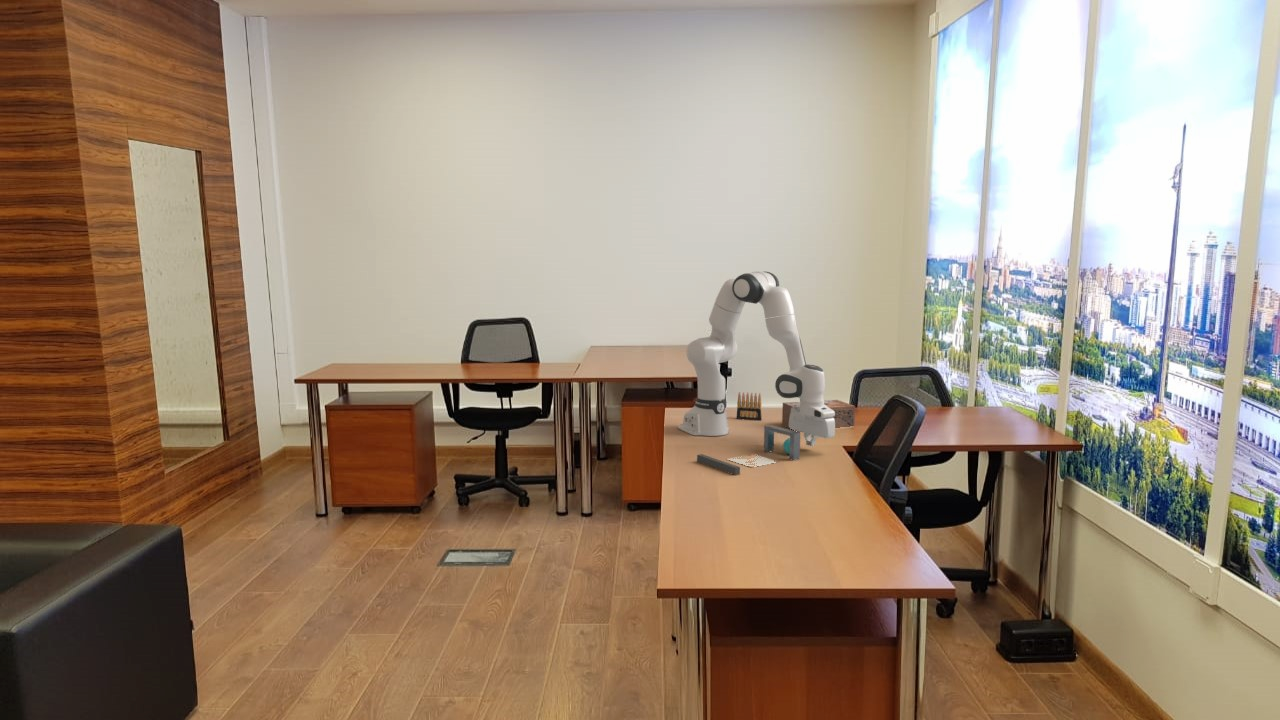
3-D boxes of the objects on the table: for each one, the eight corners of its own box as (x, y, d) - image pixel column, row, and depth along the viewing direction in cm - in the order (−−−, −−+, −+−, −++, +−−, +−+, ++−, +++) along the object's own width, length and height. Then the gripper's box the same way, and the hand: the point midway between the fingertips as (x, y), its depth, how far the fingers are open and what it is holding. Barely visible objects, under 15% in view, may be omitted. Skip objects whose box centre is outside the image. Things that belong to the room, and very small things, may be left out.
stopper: (697, 461, 286) (697, 454, 285) (701, 461, 287) (701, 454, 286) (735, 475, 269) (735, 467, 269) (739, 474, 271) (739, 466, 270)
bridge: (793, 460, 288) (794, 433, 287) (763, 451, 300) (764, 425, 299) (799, 459, 290) (800, 432, 289) (769, 450, 302) (770, 424, 301)
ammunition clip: (761, 419, 355) (762, 392, 353) (761, 420, 353) (761, 393, 352) (737, 418, 358) (737, 391, 356) (736, 419, 356) (737, 392, 354)
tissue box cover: (836, 422, 352) (837, 399, 351) (854, 429, 339) (855, 406, 337) (782, 425, 345) (782, 402, 343) (798, 433, 331) (798, 409, 330)
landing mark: (726, 459, 289) (726, 459, 289) (753, 454, 296) (753, 453, 296) (751, 468, 278) (751, 467, 278) (779, 462, 286) (779, 461, 286)
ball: (782, 434, 298) (792, 439, 301) (778, 450, 297) (788, 455, 300) (795, 436, 293) (805, 441, 297) (791, 452, 292) (800, 457, 296)
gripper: (785, 405, 308) (784, 440, 310) (826, 414, 292) (825, 452, 294) (797, 403, 312) (796, 438, 314) (838, 412, 295) (836, 450, 297)
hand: (810, 445), depth 304 cm, fingers closed
